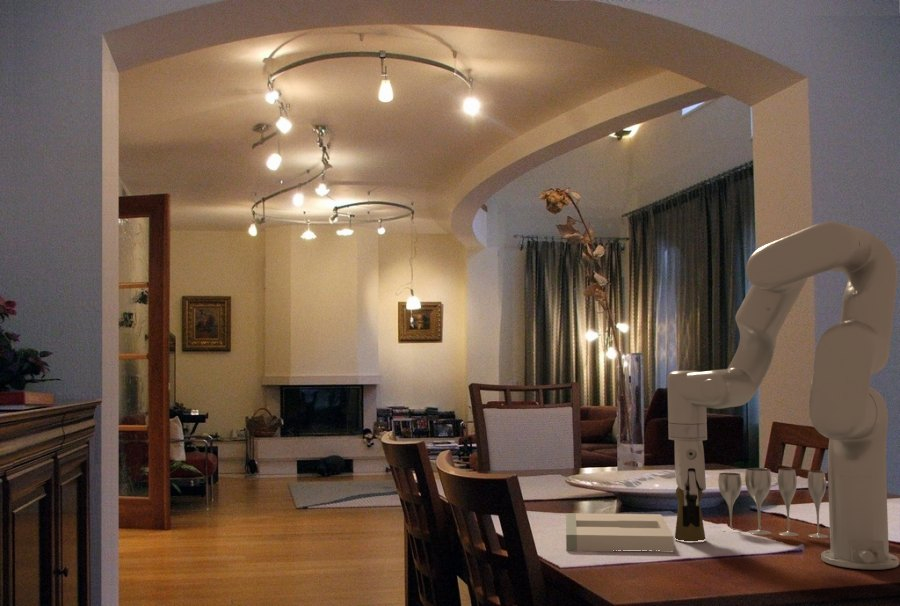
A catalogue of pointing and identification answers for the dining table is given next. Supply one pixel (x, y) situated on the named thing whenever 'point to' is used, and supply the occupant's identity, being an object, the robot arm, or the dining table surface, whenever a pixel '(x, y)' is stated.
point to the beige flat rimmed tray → (617, 532)
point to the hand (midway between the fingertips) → (689, 523)
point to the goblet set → (760, 487)
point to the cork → (691, 531)
